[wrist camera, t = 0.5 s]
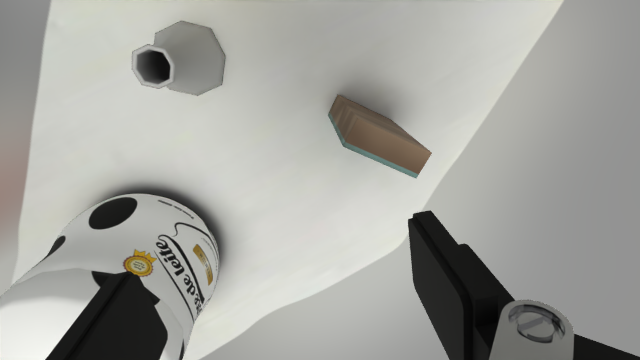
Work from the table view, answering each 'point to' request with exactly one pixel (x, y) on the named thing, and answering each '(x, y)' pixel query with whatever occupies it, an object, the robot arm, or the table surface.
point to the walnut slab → (377, 137)
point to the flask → (181, 60)
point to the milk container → (111, 258)
